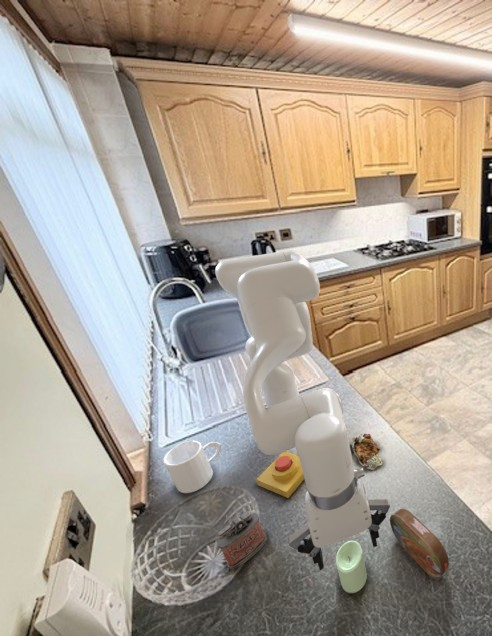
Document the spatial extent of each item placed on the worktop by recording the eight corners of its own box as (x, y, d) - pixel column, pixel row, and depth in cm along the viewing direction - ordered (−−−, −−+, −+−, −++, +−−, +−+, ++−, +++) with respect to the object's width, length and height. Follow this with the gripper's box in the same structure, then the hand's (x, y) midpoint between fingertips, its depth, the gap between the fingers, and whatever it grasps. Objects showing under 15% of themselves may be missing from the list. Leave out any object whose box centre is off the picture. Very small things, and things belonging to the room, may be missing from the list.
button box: (286, 456, 96) (283, 445, 95) (315, 466, 93) (312, 455, 91) (257, 485, 88) (253, 474, 86) (288, 498, 84) (284, 487, 83)
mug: (232, 472, 92) (221, 444, 88) (180, 499, 85) (165, 471, 81) (225, 454, 98) (214, 428, 94) (175, 478, 91) (161, 451, 87)
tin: (390, 534, 75) (386, 508, 72) (401, 524, 77) (398, 498, 74) (440, 589, 66) (439, 562, 62) (451, 575, 68) (451, 549, 64)
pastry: (367, 474, 90) (366, 464, 88) (346, 447, 98) (344, 438, 97) (390, 460, 94) (389, 450, 92) (367, 435, 102) (366, 426, 101)
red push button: (283, 458, 91) (282, 454, 90) (294, 462, 90) (293, 457, 89) (273, 469, 88) (272, 464, 87) (284, 473, 87) (283, 468, 86)
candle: (356, 598, 65) (350, 573, 61) (335, 585, 67) (328, 560, 63) (372, 572, 69) (367, 546, 65) (351, 560, 71) (346, 535, 67)
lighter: (262, 531, 77) (250, 501, 73) (270, 541, 75) (258, 510, 71) (225, 562, 72) (210, 531, 67) (232, 573, 70) (217, 542, 65)
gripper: (378, 451, 62) (387, 514, 69) (275, 485, 57) (297, 550, 64) (390, 484, 56) (399, 550, 63) (276, 526, 50) (300, 593, 57)
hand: (347, 550), depth 63 cm, fingers open, 9 cm apart
